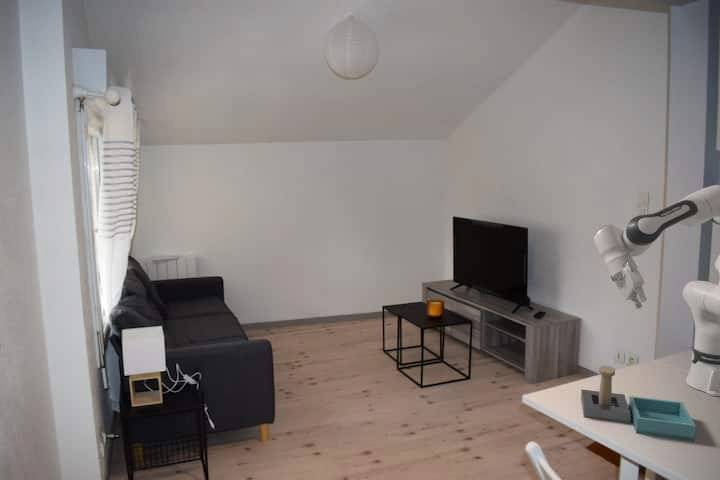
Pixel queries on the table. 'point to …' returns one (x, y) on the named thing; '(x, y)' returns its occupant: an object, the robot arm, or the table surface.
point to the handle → (606, 385)
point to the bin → (661, 418)
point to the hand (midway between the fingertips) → (642, 304)
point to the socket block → (605, 407)
